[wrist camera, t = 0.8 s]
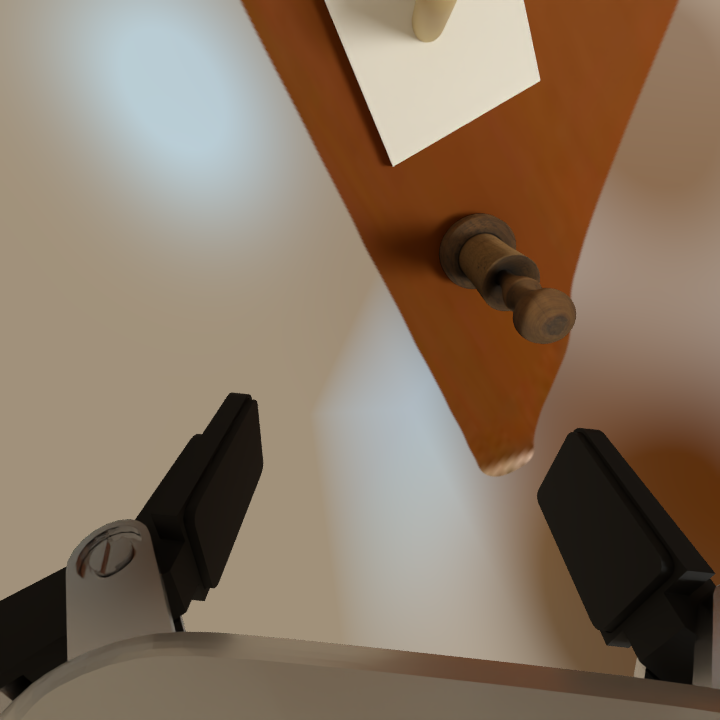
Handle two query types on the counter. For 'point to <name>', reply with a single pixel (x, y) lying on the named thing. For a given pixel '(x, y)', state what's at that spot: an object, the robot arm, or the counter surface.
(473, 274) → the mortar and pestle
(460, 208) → the counter surface
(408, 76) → the post board
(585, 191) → the counter surface
